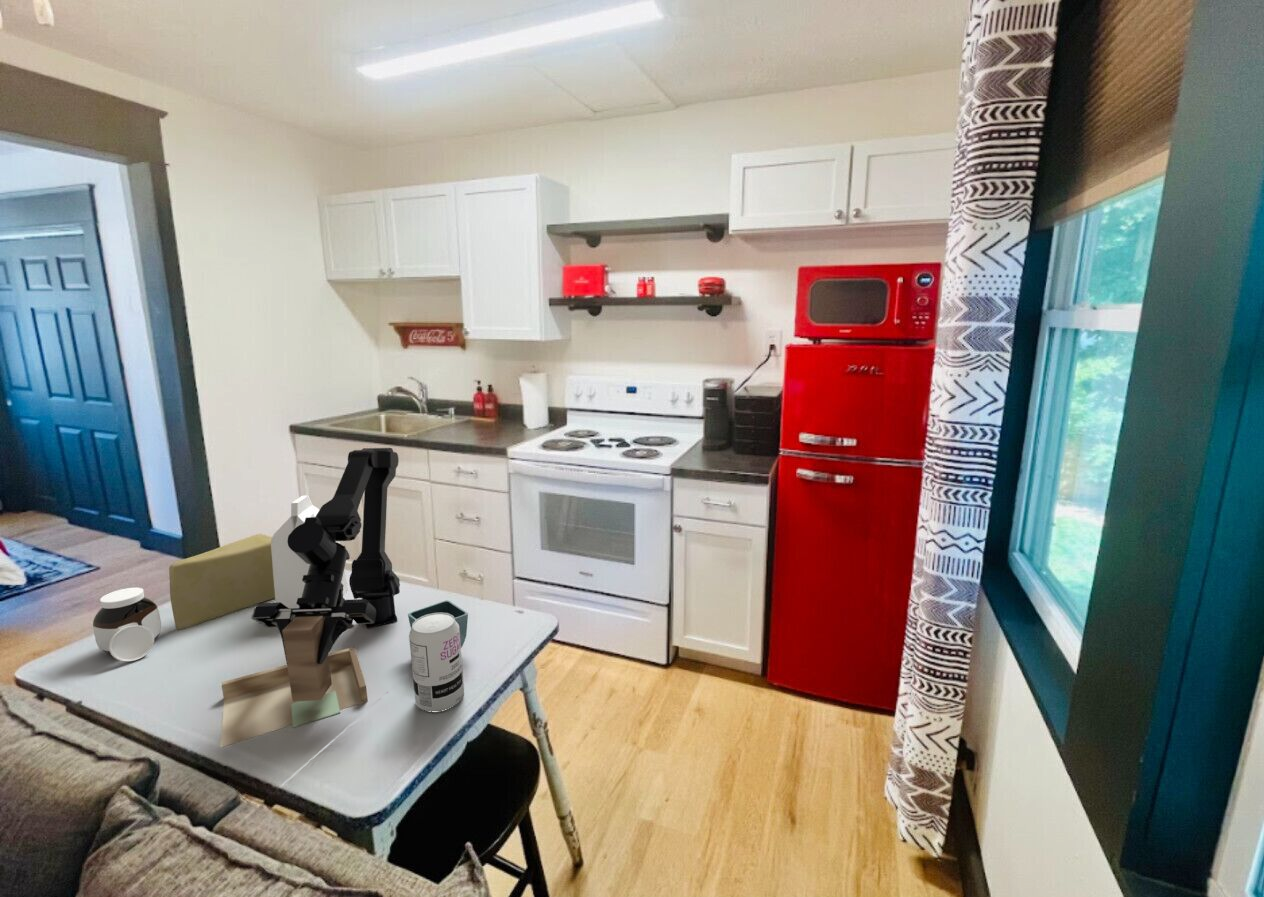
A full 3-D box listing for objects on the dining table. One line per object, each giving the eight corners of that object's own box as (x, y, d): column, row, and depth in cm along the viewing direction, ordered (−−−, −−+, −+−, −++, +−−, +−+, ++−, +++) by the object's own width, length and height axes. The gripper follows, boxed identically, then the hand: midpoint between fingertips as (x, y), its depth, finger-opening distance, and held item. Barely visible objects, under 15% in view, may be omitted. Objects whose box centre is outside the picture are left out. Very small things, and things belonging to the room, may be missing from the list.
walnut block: (305, 685, 103) (295, 617, 100) (331, 683, 103) (322, 616, 100) (292, 701, 99) (282, 630, 96) (320, 700, 99) (310, 629, 96)
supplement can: (422, 687, 108) (415, 612, 105) (468, 684, 109) (462, 609, 106) (410, 716, 100) (402, 635, 97) (459, 713, 101) (453, 633, 98)
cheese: (188, 635, 127) (176, 570, 124) (166, 624, 132) (154, 561, 129) (290, 595, 146) (281, 537, 143) (267, 586, 151) (259, 530, 147)
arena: (356, 662, 116) (354, 646, 116) (369, 705, 103) (366, 688, 102) (224, 699, 105) (221, 682, 105) (220, 753, 92) (216, 734, 91)
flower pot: (450, 637, 125) (447, 598, 123) (472, 654, 119) (469, 613, 117) (410, 654, 119) (406, 613, 117) (430, 672, 113) (427, 629, 111)
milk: (299, 593, 146) (285, 492, 141) (348, 590, 148) (336, 490, 142) (276, 617, 135) (260, 508, 129) (329, 614, 136) (315, 505, 130)
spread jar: (141, 632, 129) (131, 582, 126) (184, 637, 126) (175, 587, 124) (81, 663, 117) (69, 609, 115) (127, 669, 115) (115, 614, 112)
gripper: (391, 588, 114) (377, 672, 106) (291, 591, 113) (268, 677, 104) (372, 566, 105) (355, 657, 96) (263, 570, 103) (236, 663, 95)
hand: (304, 664), depth 98 cm, fingers closed on walnut block, 4 cm apart
